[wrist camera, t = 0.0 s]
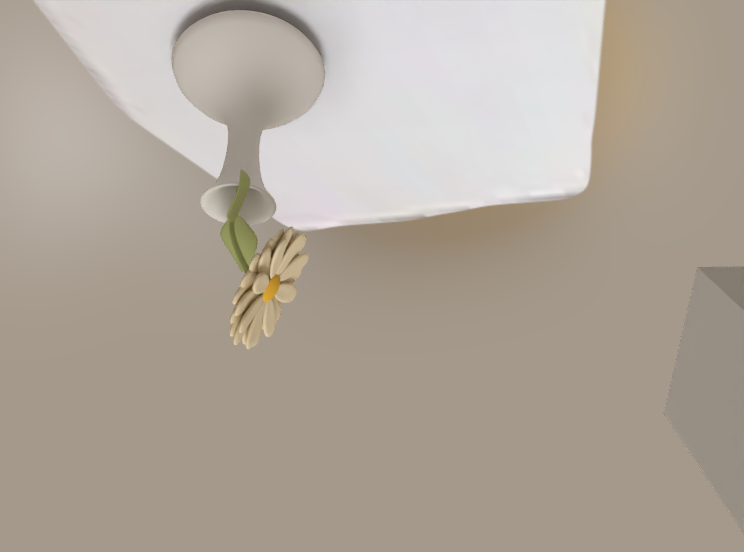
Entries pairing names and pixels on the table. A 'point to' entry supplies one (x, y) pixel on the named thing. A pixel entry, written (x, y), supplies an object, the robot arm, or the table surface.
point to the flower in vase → (250, 143)
